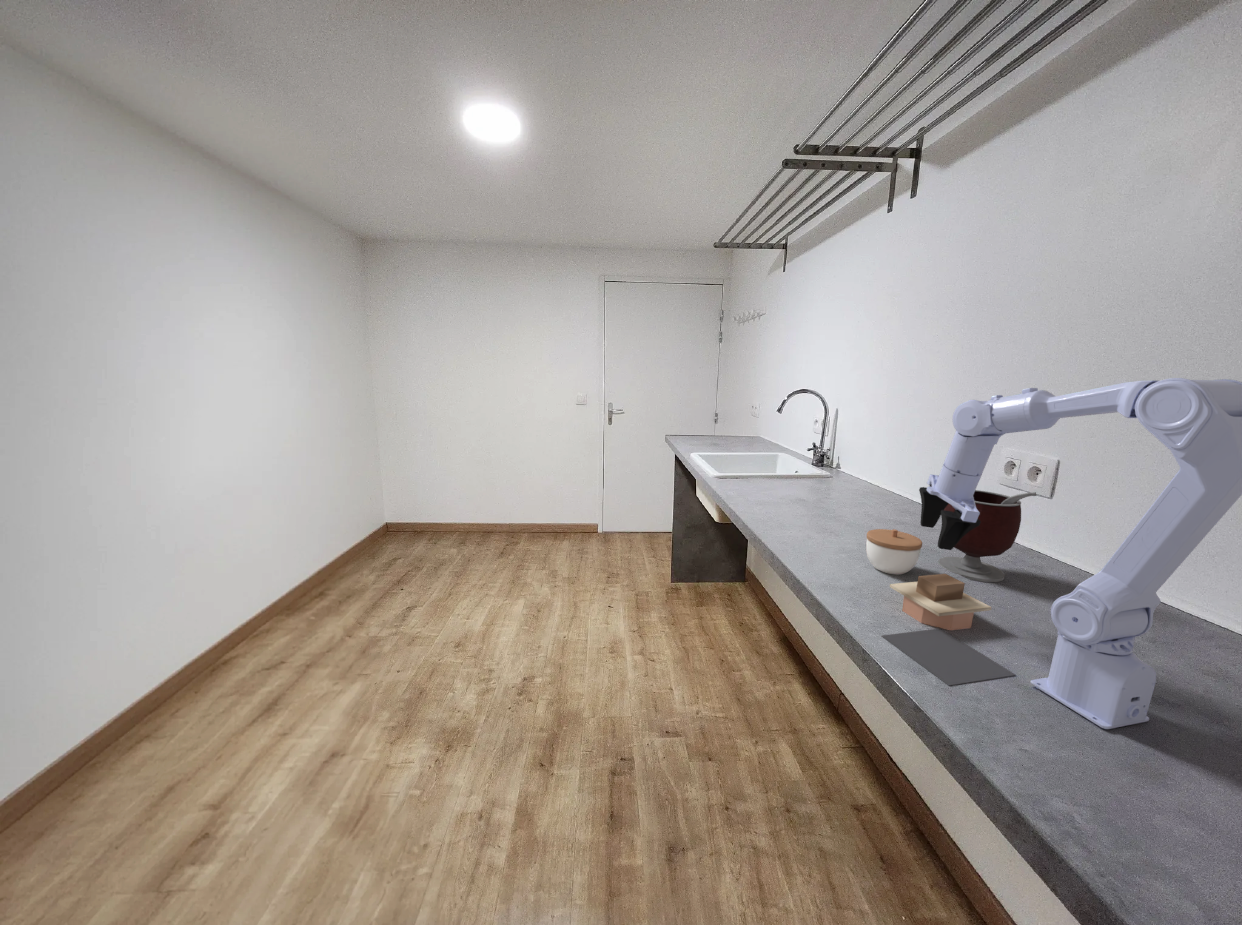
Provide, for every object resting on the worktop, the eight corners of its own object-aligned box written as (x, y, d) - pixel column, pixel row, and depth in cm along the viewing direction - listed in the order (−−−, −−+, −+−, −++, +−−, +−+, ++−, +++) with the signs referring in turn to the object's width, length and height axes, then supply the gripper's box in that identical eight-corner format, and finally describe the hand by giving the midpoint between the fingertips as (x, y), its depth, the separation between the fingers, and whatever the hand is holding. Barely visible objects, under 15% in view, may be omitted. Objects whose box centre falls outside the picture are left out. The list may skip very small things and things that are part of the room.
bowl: (984, 628, 87) (988, 609, 86) (935, 634, 84) (938, 615, 83) (934, 599, 96) (937, 583, 96) (889, 604, 94) (891, 587, 93)
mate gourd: (925, 567, 112) (939, 481, 108) (944, 553, 121) (958, 473, 117) (1009, 592, 100) (1029, 497, 96) (1024, 574, 110) (1043, 487, 105)
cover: (991, 610, 86) (994, 591, 85) (938, 616, 83) (942, 596, 82) (937, 582, 96) (940, 565, 95) (889, 587, 93) (892, 569, 93)
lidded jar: (925, 583, 104) (932, 540, 102) (870, 577, 106) (875, 535, 104) (907, 563, 114) (913, 524, 112) (857, 558, 116) (862, 520, 114)
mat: (1015, 677, 73) (1015, 674, 73) (948, 688, 70) (949, 685, 70) (940, 630, 85) (940, 628, 85) (881, 638, 82) (881, 635, 82)
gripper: (920, 450, 92) (898, 514, 97) (957, 483, 78) (928, 555, 84) (961, 455, 91) (936, 519, 96) (1004, 490, 78) (972, 562, 83)
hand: (935, 536), depth 90 cm, fingers open, 7 cm apart
